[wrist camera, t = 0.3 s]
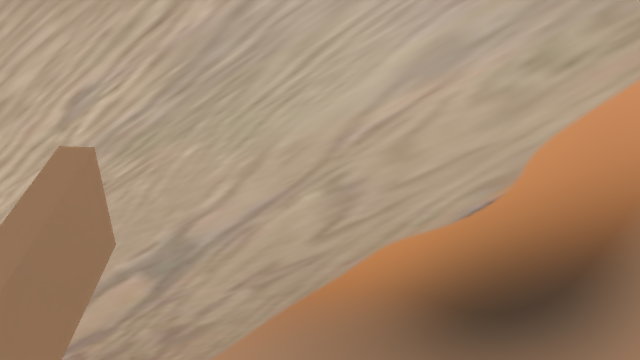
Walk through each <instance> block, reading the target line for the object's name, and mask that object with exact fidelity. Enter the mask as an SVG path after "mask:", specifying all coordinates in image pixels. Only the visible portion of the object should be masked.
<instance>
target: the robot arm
mask: <svg viewBox="0 0 640 360" xmlns="http://www.w3.org/2000/svg"><path fill="white" fill-rule="evenodd" d="M115 245H116V243H115V238H114V234H113V229H112V225H111V220H110V216H109V211H108V207H107V202H106V198H105V193H104V189H103V184H102V180H101V175H100V171H99V166H98V162H97V157H96V153H95V148H94V147H69V146H59V147H58V149H57V150H56V151H55V153H54V154H53V155H52V157H51V158H50V159H49V161H48V162H47V163H46V165H45V166H44V167H43V169H42V170H41V171H40V173H39V174H38V176H37V177H36V178H35V180H34V181H33V182H32V184H31V185H30V186H29V188H28V189H27V190H26V192H25V193H24V194H23V196H22V197H21V199H20V200H19V201H18V203H17V204H16V205H15V207H14V208H13V209H12V211H11V212H10V213H9V215H8V216H7V217H6V219H5V220H4V222H3V223H2V224H1V226H0V360H62V358H63V356H64V354H65V351H66V349H67V347H68V345H69V343H70V341H71V339H72V337H73V335H74V332H75V330H76V328H77V326H78V324H79V322H80V320H81V318H82V315H83V313H84V311H85V309H86V307H87V305H88V303H89V301H90V298H91V296H92V294H93V292H94V290H95V288H96V286H97V284H98V281H99V279H100V277H101V275H102V273H103V271H104V269H105V267H106V264H107V262H108V260H109V258H110V256H111V254H112V252H113V250H114V247H115Z"/></svg>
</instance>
